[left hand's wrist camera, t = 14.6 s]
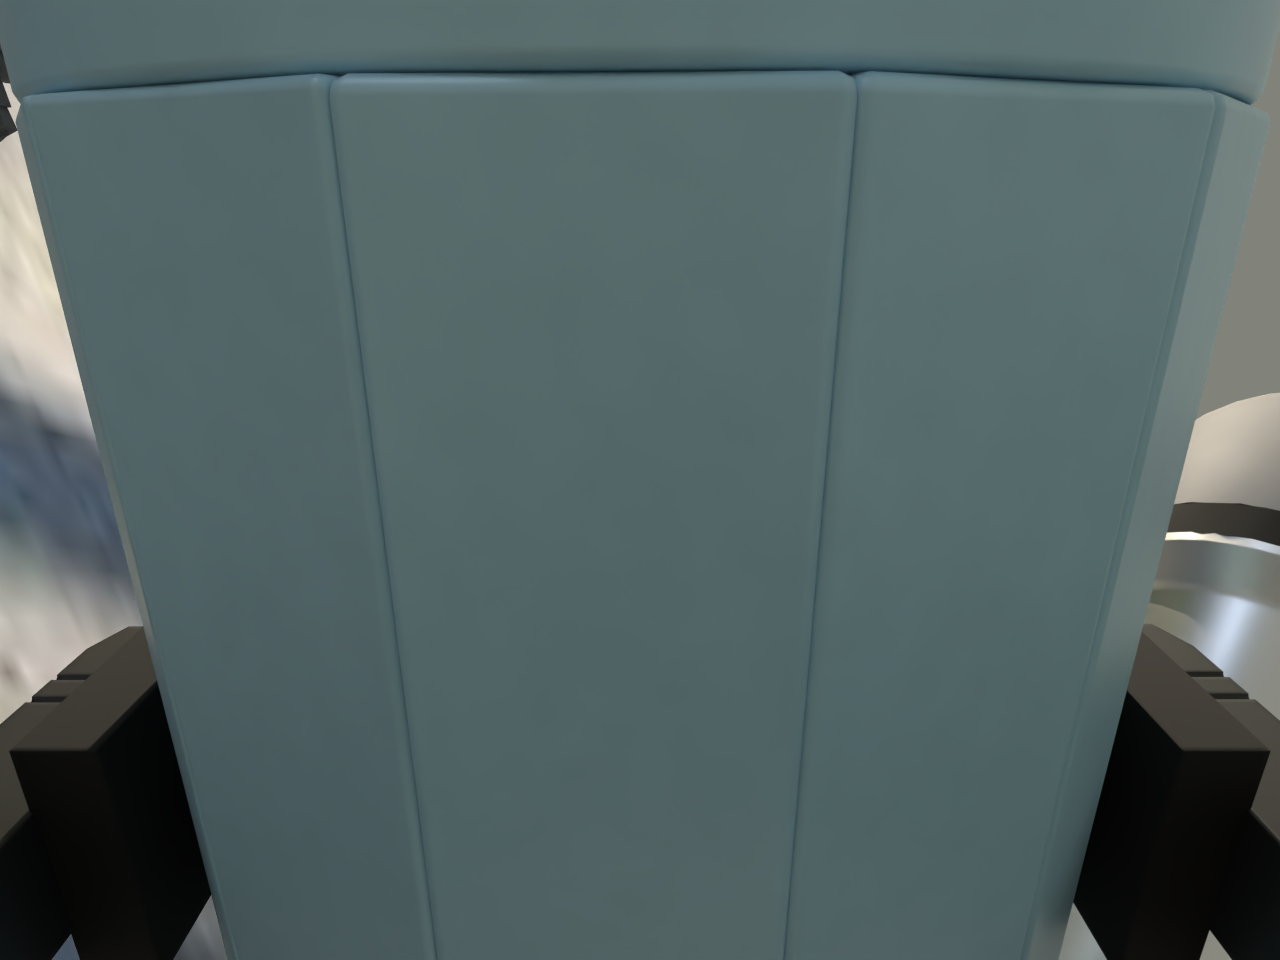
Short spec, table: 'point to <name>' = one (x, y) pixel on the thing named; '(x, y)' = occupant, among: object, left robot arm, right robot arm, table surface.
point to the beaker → (642, 444)
